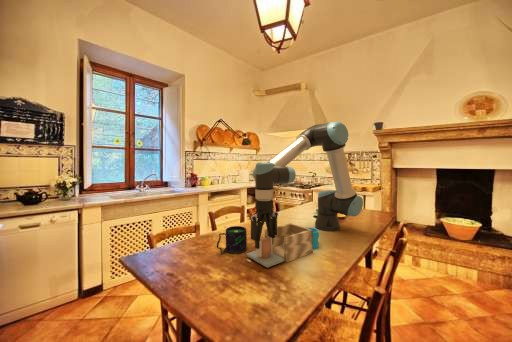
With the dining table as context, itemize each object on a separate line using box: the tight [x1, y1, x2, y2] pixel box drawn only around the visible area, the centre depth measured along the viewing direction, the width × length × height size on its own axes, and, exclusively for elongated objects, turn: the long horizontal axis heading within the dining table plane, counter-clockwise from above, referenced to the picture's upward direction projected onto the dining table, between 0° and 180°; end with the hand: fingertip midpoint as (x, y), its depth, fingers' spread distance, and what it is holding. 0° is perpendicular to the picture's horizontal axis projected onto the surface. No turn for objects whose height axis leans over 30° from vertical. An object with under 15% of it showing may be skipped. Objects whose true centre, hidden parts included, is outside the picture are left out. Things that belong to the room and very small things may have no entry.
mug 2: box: [307, 227, 320, 250], centre depth 114 cm, size 12×8×8 cm
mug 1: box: [216, 225, 248, 255], centre depth 108 cm, size 15×10×10 cm, turn 117°
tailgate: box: [246, 250, 285, 268], centre depth 98 cm, size 1×14×10 cm
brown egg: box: [259, 237, 270, 259], centre depth 97 cm, size 5×5×7 cm
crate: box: [264, 223, 314, 263], centre depth 106 cm, size 17×14×10 cm
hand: (264, 253), depth 97 cm, fingers closed on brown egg, 5 cm apart
